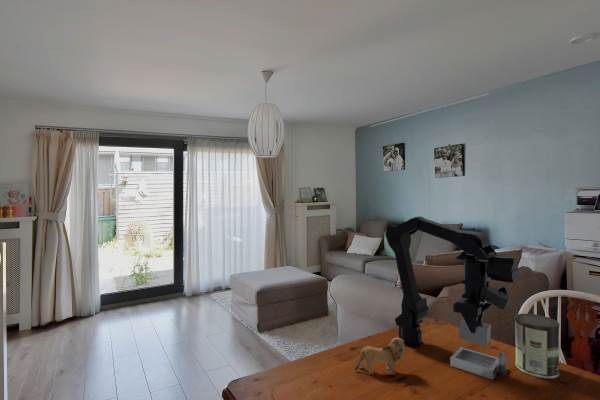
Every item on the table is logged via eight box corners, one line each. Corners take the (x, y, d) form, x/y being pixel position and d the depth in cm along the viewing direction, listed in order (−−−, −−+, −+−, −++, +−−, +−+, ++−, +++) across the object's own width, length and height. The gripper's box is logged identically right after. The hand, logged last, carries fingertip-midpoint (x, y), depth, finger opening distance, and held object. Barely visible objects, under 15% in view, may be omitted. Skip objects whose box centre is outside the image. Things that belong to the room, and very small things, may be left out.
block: (459, 338, 97) (460, 321, 97) (464, 333, 100) (464, 317, 100) (486, 346, 92) (487, 328, 92) (490, 341, 95) (491, 324, 95)
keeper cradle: (450, 365, 97) (450, 345, 97) (460, 354, 103) (460, 335, 103) (502, 383, 88) (502, 360, 87) (510, 369, 94) (510, 348, 94)
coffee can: (547, 361, 98) (547, 314, 98) (567, 380, 88) (567, 328, 88) (508, 358, 101) (508, 312, 100) (524, 377, 90) (524, 325, 90)
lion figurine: (401, 364, 98) (400, 334, 98) (408, 374, 93) (408, 342, 92) (352, 367, 97) (351, 336, 97) (356, 377, 91) (356, 344, 91)
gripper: (498, 289, 83) (498, 350, 84) (515, 275, 97) (515, 328, 97) (452, 281, 91) (452, 337, 91) (473, 269, 104) (473, 318, 105)
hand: (475, 330), depth 96 cm, fingers closed on block, 4 cm apart
